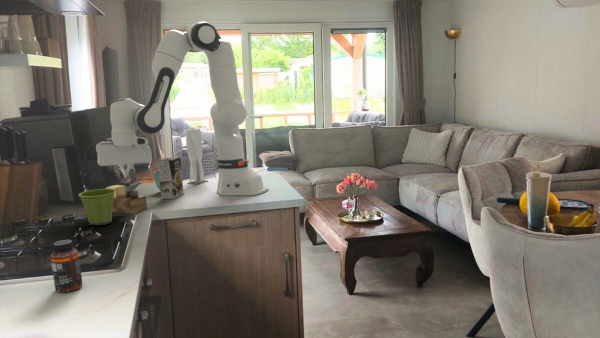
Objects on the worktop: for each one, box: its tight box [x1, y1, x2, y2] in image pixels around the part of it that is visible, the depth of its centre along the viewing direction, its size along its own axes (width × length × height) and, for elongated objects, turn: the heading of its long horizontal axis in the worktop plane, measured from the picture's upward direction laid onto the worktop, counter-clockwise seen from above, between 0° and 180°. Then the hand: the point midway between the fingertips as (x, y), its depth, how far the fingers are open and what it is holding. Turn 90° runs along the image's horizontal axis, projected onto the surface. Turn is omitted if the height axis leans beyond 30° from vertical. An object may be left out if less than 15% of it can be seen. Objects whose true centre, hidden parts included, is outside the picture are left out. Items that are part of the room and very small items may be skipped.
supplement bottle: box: [50, 239, 83, 293], centre depth 123 cm, size 6×6×11 cm
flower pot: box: [152, 170, 161, 192], centre depth 235 cm, size 9×9×9 cm
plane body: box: [112, 190, 148, 215], centre depth 202 cm, size 15×8×8 cm, turn 64°
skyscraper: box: [185, 123, 209, 185], centre depth 252 cm, size 8×8×28 cm
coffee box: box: [157, 157, 184, 200], centre depth 222 cm, size 9×6×16 cm
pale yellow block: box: [105, 184, 126, 198], centre depth 203 cm, size 5×5×4 cm
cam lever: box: [123, 167, 137, 198], centre depth 205 cm, size 11×2×10 cm, turn 3°
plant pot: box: [78, 188, 115, 223], centre depth 182 cm, size 12×12×11 cm
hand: (126, 175), depth 208 cm, fingers closed
